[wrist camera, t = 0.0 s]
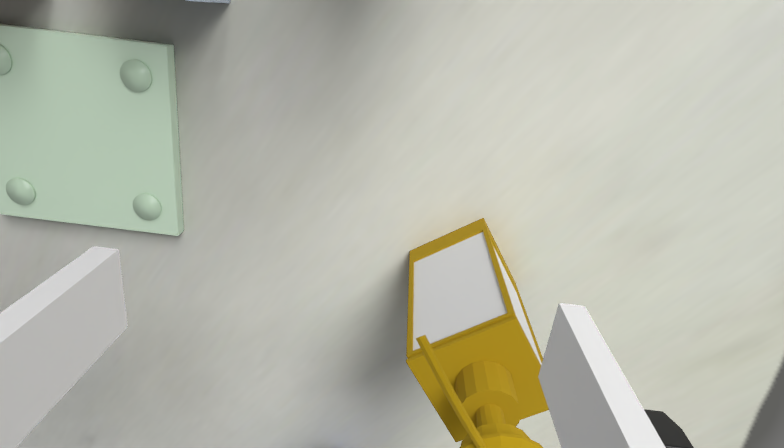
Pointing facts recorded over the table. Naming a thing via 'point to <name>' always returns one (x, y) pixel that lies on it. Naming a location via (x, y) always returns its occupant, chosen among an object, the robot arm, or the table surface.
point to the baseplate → (89, 130)
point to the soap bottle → (472, 340)
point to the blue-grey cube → (218, 0)
